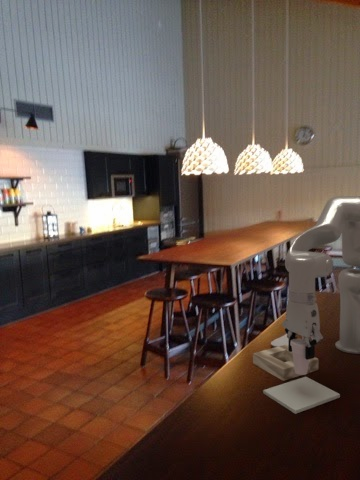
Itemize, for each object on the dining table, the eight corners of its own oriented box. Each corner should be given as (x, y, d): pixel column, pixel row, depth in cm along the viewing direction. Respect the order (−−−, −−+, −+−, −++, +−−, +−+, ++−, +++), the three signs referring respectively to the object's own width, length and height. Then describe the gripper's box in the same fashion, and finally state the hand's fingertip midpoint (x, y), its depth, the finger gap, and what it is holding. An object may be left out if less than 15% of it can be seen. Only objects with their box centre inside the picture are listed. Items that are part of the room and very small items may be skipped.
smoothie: (313, 377, 123) (313, 332, 122) (290, 376, 124) (290, 331, 123) (310, 368, 129) (311, 325, 128) (289, 367, 131) (289, 324, 129)
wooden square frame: (286, 354, 159) (286, 344, 159) (318, 369, 145) (318, 358, 145) (253, 363, 152) (253, 353, 151) (283, 380, 138) (283, 369, 137)
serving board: (305, 379, 138) (305, 376, 138) (339, 397, 126) (339, 394, 126) (263, 393, 130) (263, 390, 130) (295, 413, 118) (295, 410, 117)
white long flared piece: (307, 328, 188) (307, 321, 188) (290, 354, 160) (290, 345, 160) (287, 325, 192) (287, 318, 192) (267, 350, 164) (267, 342, 164)
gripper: (333, 301, 118) (332, 361, 120) (290, 289, 133) (290, 343, 136) (314, 305, 115) (313, 367, 117) (272, 292, 130) (272, 347, 132)
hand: (301, 353), depth 126 cm, fingers closed on smoothie, 6 cm apart
